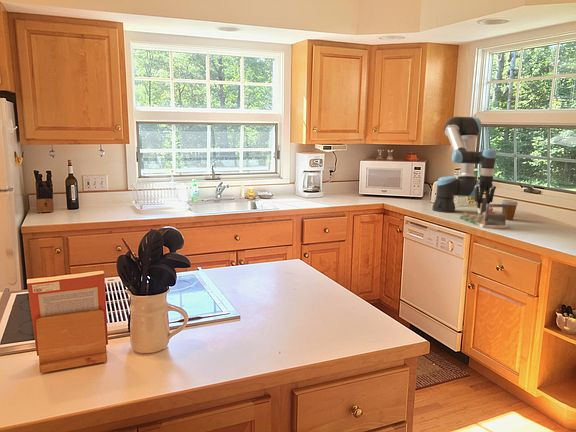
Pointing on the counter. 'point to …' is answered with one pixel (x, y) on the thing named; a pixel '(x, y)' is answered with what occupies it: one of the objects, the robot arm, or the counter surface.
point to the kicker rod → (483, 210)
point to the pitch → (488, 218)
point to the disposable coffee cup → (509, 208)
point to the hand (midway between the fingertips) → (481, 213)
